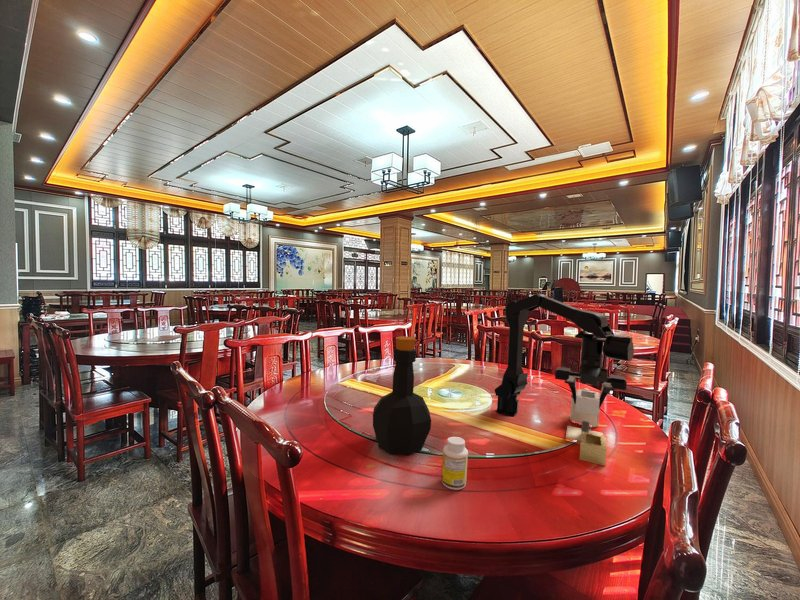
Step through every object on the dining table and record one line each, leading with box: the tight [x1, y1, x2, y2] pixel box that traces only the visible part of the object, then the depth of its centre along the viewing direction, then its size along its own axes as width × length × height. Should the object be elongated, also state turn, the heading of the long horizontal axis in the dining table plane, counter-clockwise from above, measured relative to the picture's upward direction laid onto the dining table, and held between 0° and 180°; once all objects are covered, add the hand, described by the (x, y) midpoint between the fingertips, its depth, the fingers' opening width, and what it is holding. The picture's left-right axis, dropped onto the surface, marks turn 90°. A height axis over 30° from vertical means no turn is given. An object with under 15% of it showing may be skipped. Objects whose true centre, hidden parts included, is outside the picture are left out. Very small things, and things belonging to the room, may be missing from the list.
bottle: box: [372, 335, 432, 456], centre depth 99 cm, size 16×16×30 cm
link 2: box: [579, 431, 608, 466], centre depth 100 cm, size 9×6×4 cm, turn 152°
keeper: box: [565, 421, 604, 445], centre depth 110 cm, size 10×10×5 cm
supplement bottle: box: [441, 436, 469, 491], centre depth 82 cm, size 6×6×10 cm
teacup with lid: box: [569, 387, 601, 428], centre depth 125 cm, size 12×9×12 cm
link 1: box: [575, 388, 600, 416], centre depth 110 cm, size 9×6×4 cm, turn 152°
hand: (586, 405), depth 110 cm, fingers closed on link 1, 6 cm apart
